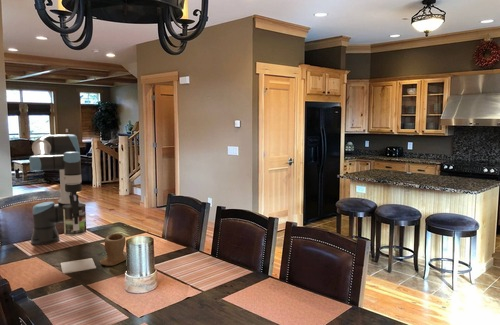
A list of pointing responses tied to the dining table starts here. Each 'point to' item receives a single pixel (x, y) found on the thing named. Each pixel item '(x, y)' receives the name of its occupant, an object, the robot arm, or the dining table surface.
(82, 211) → the coffee can
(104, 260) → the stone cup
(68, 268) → the grey mat
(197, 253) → the dining table surface
